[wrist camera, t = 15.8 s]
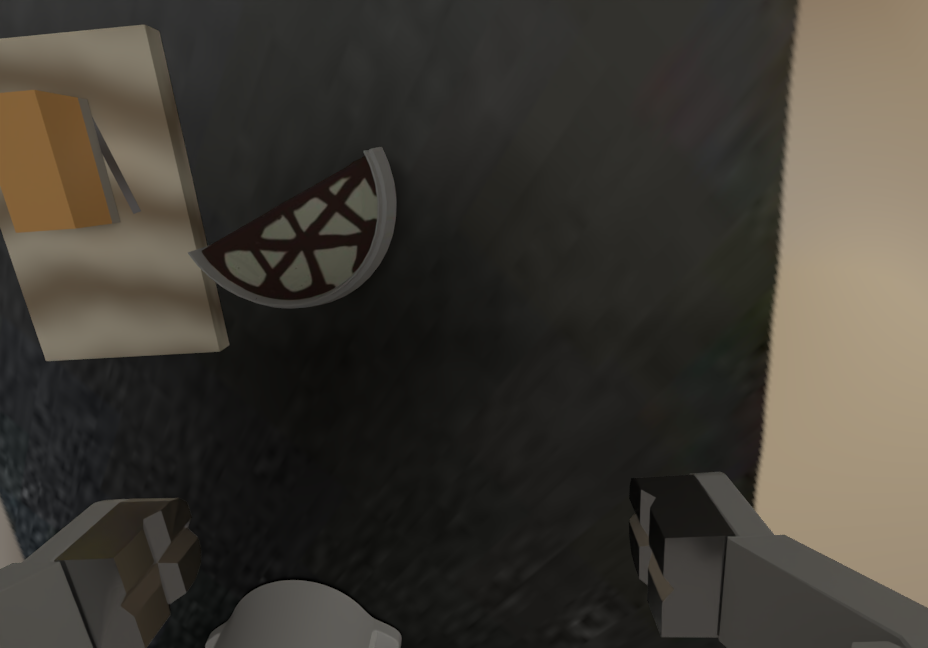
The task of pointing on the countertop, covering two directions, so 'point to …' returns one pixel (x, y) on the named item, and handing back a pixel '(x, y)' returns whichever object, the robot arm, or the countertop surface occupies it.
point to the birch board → (138, 204)
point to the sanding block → (52, 163)
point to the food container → (311, 240)
